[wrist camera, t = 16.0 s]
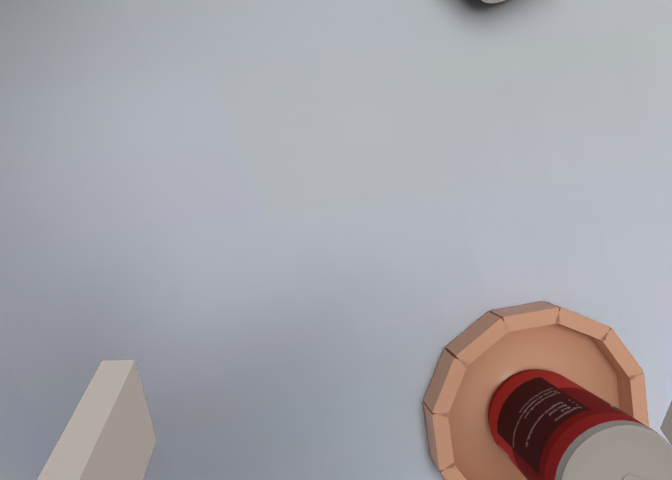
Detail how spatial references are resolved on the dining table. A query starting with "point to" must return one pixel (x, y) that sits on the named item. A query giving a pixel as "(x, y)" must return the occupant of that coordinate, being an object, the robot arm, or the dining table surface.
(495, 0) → the spread jar
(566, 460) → the canned food
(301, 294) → the dining table surface
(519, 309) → the bowl
